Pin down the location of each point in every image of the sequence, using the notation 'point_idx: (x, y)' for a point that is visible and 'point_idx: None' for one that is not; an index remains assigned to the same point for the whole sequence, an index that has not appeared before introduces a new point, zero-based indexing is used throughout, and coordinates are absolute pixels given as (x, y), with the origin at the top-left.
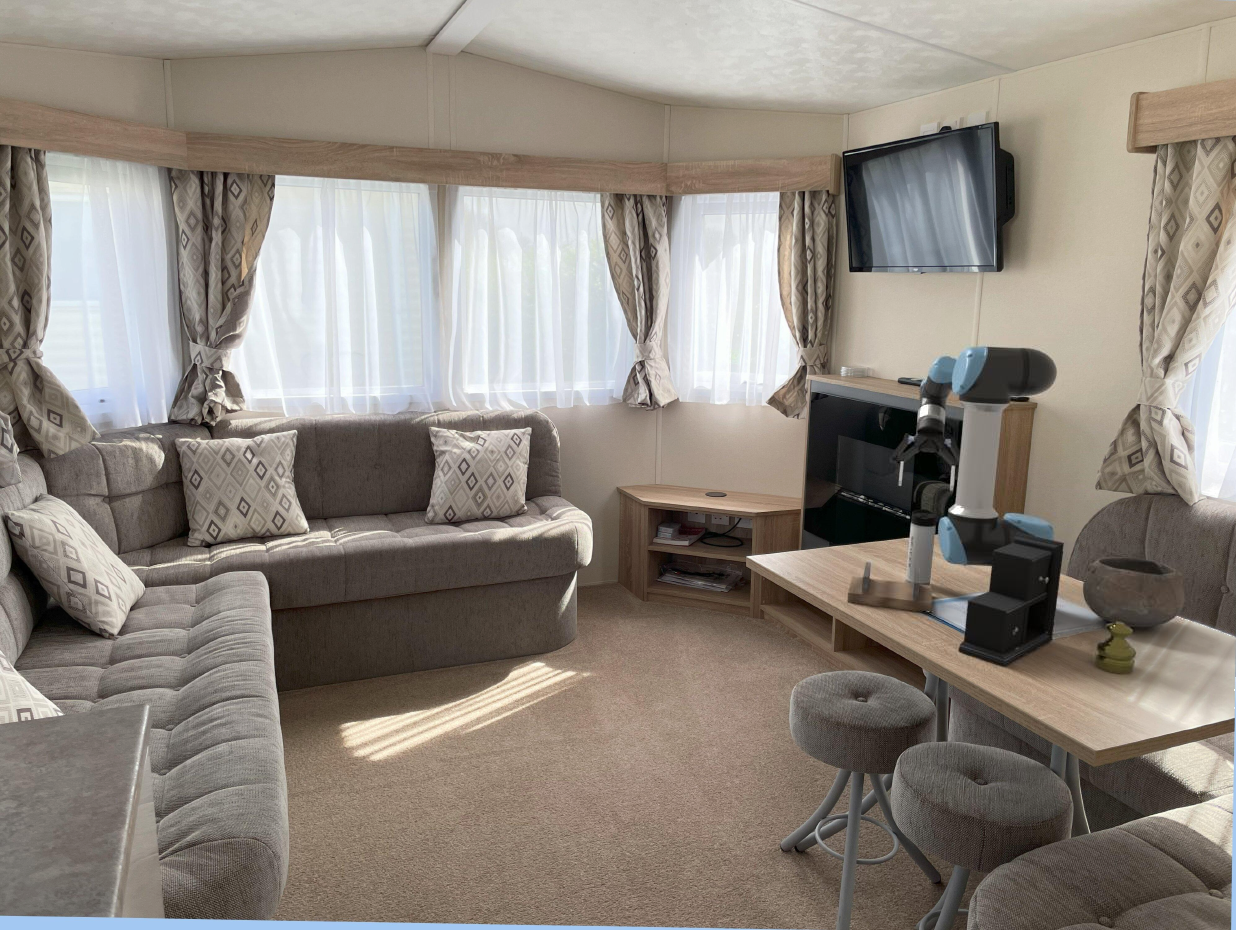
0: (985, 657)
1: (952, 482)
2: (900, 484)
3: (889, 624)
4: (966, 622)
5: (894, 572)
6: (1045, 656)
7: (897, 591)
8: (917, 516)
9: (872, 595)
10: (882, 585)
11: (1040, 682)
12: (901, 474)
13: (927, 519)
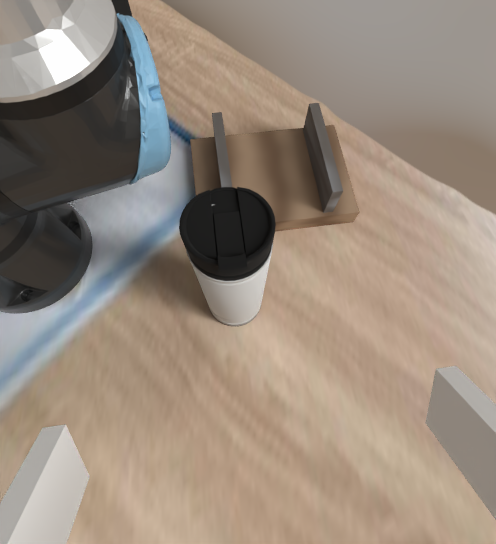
0: None
1: (40, 452)
2: (434, 408)
3: (246, 83)
4: (128, 5)
5: (298, 361)
6: None
7: (256, 167)
8: (248, 189)
9: (292, 129)
10: (289, 186)
11: None
12: (487, 416)
13: (210, 192)
